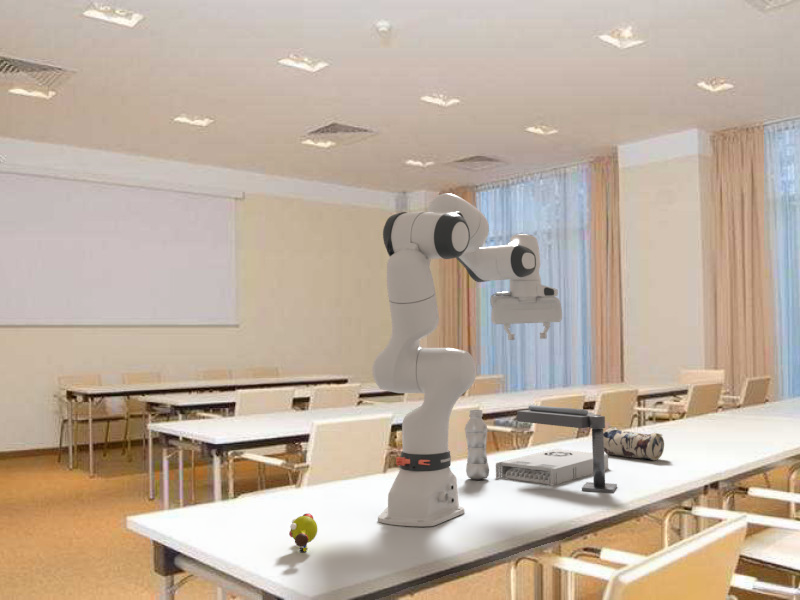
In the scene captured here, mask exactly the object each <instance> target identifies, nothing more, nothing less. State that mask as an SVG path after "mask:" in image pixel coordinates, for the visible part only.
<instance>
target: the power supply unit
mask: <svg viewBox="0 0 800 600" xmlns="http://www.w3.org/2000/svg"><path fill="white" fill-rule="evenodd" d="M604 463H605V471H606V470H608V469H609V454H606V453H604ZM592 474H593V452H589V451H588V452H587V451H580V450H579V451H578V450H569V449H568V450H567V449H559V448H554V449H548V450H545V451H541V452H536V453H532V454H529V455H523V456H520V457H516V458H512V459H507V460H503V461H499V462H496V463H495V478H496V479H505V480H510V481H518V482H524V483H532V484H540V485H545V486H555V485H559V484H563V483H566V482H569V481H573V480H576V479H579V478H581V477H582V476H583V477H585V476H586V477H587V476H589V475H592ZM583 477H582V478H583ZM572 479H573V480H572ZM565 481H566V482H565ZM562 482H563V483H562Z"/></svg>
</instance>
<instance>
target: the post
mask: <svg viewBox="0 0 800 600" xmlns="http://www.w3.org/2000/svg"><path fill="white" fill-rule="evenodd" d="M591 437H592V438H591V442H592V443H591V445H592V453H593V475H592V477H593V482H590V481H589V482H588V481H587V482H585V484H584V485H582V487H581V491H582V492H593V493H594V492H596V493H611V494H613V493H615V491H616V489H617V488H618V483H607V482H606V470H605V463H604V454H605V452H604V428H602V429H594V428H591Z"/></svg>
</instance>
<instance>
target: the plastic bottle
mask: <svg viewBox="0 0 800 600" xmlns="http://www.w3.org/2000/svg"><path fill="white" fill-rule="evenodd" d="M483 416H484V415H483V410H482V409H469V419H468V420H467V422H466V424H465V426H464V432H465V439H466V445H467V458H466V459H467V460H466V462H467V463H466V466H465V472H466V476H467V478H468V479H472V480H475V481H480V480H484V479H487V478H488V477H489V475H490V469H489V467H490V466H489V463H488V457H487V455H488V454H487V437H488V427H487V424H486V422H485V421H484V419H483V418H482V417H483Z"/></svg>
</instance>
